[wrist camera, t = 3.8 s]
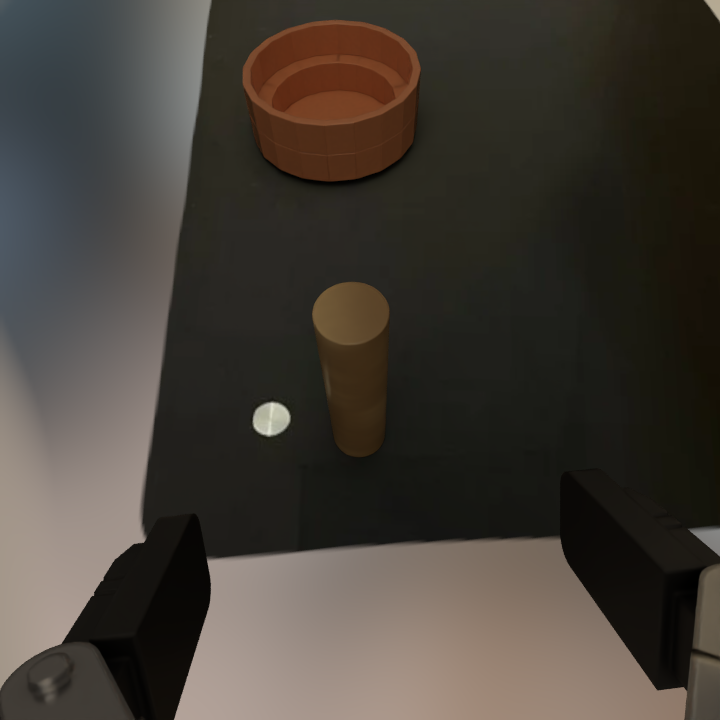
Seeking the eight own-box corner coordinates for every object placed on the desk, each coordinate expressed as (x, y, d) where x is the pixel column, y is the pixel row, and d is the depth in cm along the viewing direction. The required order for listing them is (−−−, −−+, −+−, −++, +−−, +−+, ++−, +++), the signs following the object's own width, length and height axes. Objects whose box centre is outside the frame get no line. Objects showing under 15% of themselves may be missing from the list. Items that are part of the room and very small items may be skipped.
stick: (335, 460, 30) (314, 348, 20) (331, 412, 32) (309, 285, 21) (388, 454, 30) (394, 340, 20) (381, 406, 32) (384, 277, 22)
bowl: (257, 195, 41) (242, 132, 36) (256, 91, 48) (242, 27, 43) (427, 178, 42) (434, 115, 37) (402, 78, 48) (405, 13, 44)
